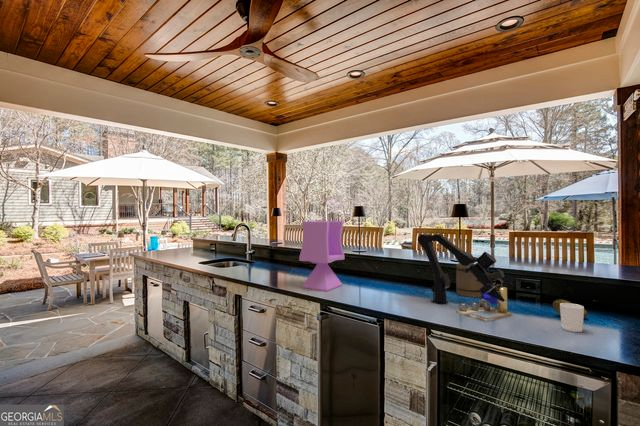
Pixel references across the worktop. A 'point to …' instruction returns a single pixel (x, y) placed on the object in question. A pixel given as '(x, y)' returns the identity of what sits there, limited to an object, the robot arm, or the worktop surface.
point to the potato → (557, 303)
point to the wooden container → (467, 282)
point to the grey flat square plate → (485, 315)
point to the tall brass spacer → (501, 305)
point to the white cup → (572, 316)
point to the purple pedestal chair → (322, 253)
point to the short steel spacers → (476, 305)
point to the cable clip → (489, 298)
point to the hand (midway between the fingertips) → (505, 300)
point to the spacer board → (492, 310)
